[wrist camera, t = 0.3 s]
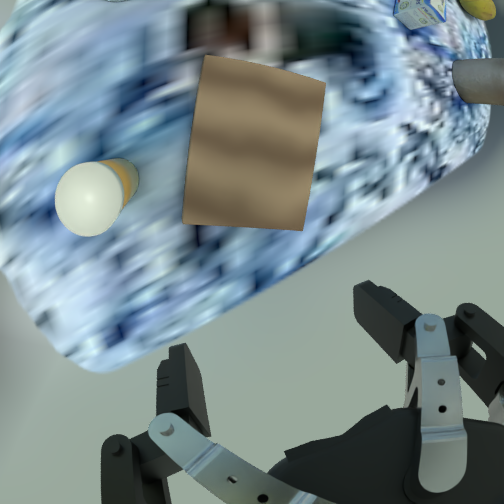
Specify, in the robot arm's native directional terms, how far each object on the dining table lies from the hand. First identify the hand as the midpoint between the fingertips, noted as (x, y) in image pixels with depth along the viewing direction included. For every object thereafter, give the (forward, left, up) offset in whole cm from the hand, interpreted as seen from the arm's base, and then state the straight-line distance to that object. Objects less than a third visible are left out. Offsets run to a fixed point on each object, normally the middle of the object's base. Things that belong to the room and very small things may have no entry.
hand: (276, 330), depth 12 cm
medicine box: (-40, +26, -21) cm, 53 cm away
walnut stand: (-8, +3, -21) cm, 23 cm away
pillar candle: (-34, +45, -21) cm, 61 cm away
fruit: (-62, +50, -21) cm, 83 cm away
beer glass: (-3, -11, -21) cm, 24 cm away
